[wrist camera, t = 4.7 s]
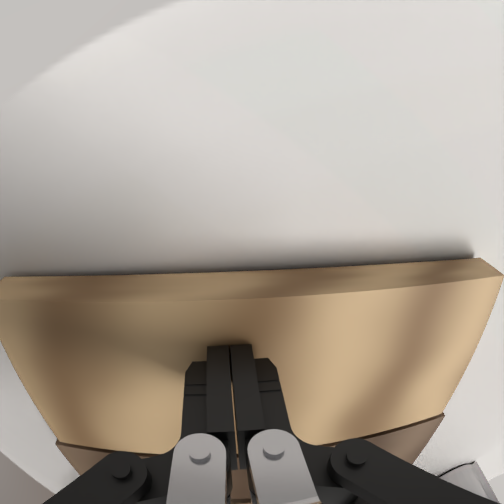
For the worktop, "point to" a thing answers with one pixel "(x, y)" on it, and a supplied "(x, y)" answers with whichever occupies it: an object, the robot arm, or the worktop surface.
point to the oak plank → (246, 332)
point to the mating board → (393, 441)
